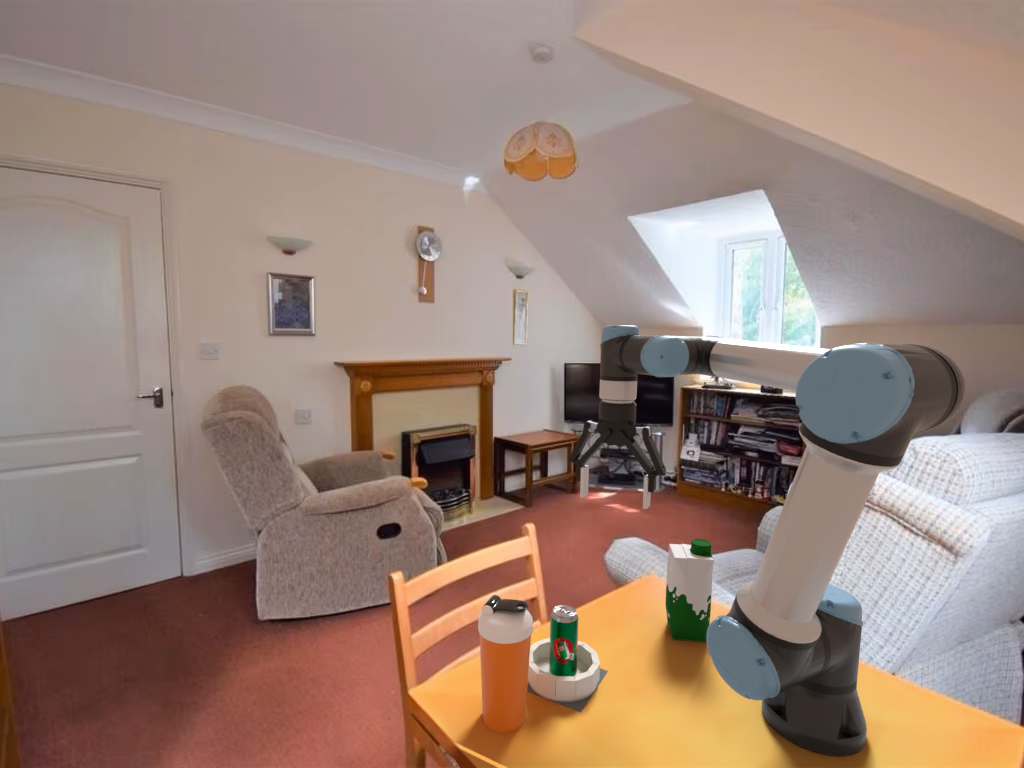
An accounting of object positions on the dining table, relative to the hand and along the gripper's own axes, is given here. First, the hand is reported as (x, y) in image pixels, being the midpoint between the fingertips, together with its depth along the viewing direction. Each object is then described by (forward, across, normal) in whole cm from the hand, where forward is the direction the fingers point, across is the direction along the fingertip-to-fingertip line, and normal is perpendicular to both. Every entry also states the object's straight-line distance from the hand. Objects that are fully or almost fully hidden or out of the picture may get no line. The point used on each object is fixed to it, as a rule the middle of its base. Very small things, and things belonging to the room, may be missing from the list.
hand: (614, 501), depth 113 cm
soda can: (+28, +2, +20) cm, 34 cm away
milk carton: (+29, -14, -9) cm, 33 cm away
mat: (+29, +2, +20) cm, 35 cm away
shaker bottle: (+29, +6, +34) cm, 45 cm away
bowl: (+28, +2, +20) cm, 35 cm away
